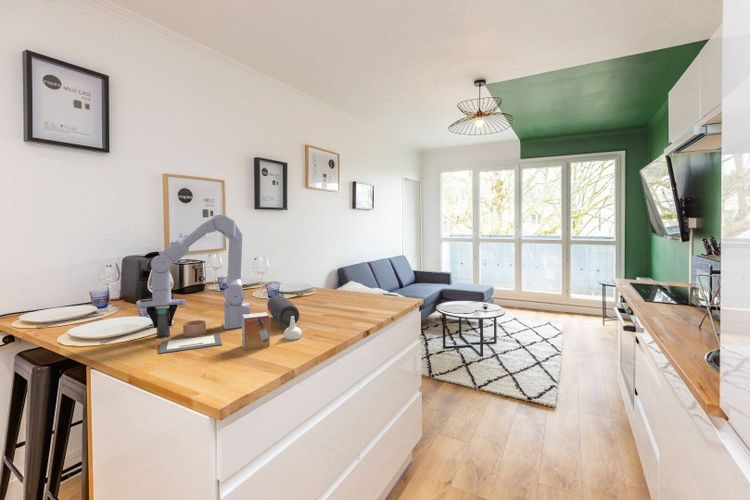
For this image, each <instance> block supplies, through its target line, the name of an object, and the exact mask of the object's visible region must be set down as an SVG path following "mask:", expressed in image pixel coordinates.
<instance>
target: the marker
mask: <svg viewBox="0 0 750 500" xmlns="http://www.w3.org/2000/svg"><path fill="white" fill-rule="evenodd" d="M156 325H157V328H156V338H159V339H160V338H161V339H163V338H168V337H170V336H171V330H170V328H171V326H170V327H169V306H166V307H156Z"/></svg>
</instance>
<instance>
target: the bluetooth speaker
mask: <svg viewBox="0 0 750 500" xmlns="http://www.w3.org/2000/svg"><path fill="white" fill-rule="evenodd" d="M267 310H268V312H269V314H270V315H271V317H272V318H273V319H275V321H276V322H277V323H278V324H279V325H280V326H282V327H286V328H289V326H290V321H291V316H294V320H295V325H296V324H297V323H298V321H299V319H300V311H299V309H298V307H297V306H296V305H295V304H294V303H293V302H292V301H291V300H289V299H288V298H287V297H285V296H284V295H280V294H276V295H273V296H271V297H270V298H269V299H268V301H267Z"/></svg>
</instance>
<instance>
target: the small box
mask: <svg viewBox="0 0 750 500" xmlns="http://www.w3.org/2000/svg"><path fill="white" fill-rule="evenodd" d="M241 328H242V329H241V331H242V333H241V334H242V335H241V336H242V347H243V350H245V351H246V350H251V349H252V350H253V349H263V348H269V347H270V346H271V345H270V343H271V342H270V341H271V340H270V339H271V338H270V337H271V335H270V334H271V333H270V332H271V330H270V315H269V314H268V312H267V311H265V312H256V313H250V314H243V315H242V327H241Z"/></svg>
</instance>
